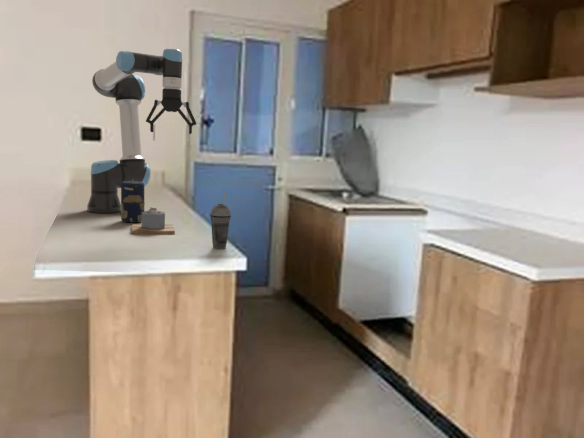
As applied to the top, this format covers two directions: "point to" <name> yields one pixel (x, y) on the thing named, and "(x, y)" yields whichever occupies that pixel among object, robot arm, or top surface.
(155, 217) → the ring
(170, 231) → the post block
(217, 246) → the beverage cup
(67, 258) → the top surface
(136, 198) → the canister
